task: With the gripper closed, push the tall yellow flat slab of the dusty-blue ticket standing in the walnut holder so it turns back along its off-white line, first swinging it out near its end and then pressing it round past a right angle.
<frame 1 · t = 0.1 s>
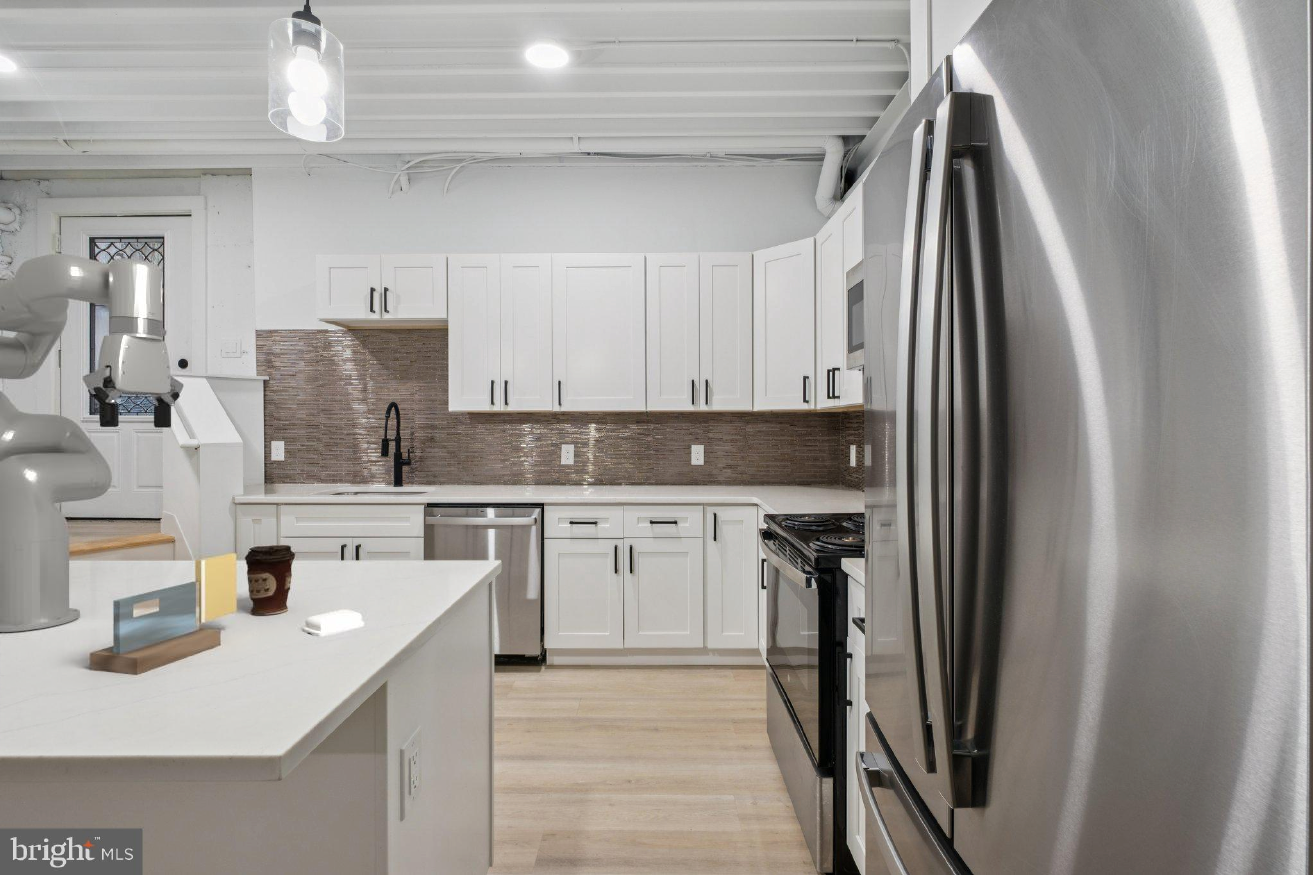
hand: (136, 427, 117), 37 cm above the counter, tool pointing down, fingers open, 9 cm apart
yellow flat slab: (216, 586, 115), point 9 cm above the counter, hinge at 0.0°
soap: (334, 631, 120), on the counter
coffee cup: (269, 613, 131), on the counter
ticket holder: (158, 656, 105), on the counter
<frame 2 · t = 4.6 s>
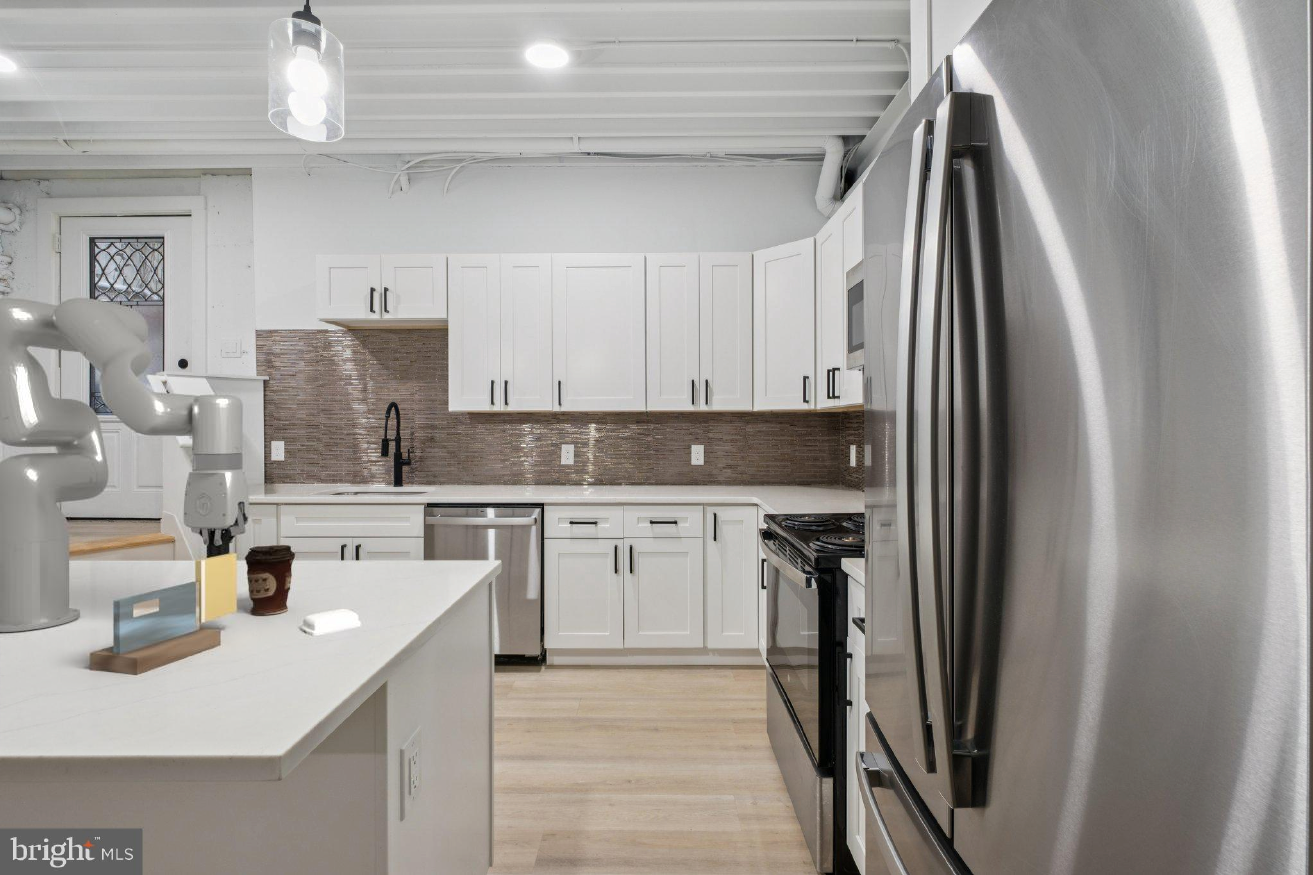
hand: (218, 566, 118), 12 cm above the counter, tool pointing down, fingers closed
yellow flat slab: (216, 586, 115), point 9 cm above the counter, hinge at 0.3°, touching gripper
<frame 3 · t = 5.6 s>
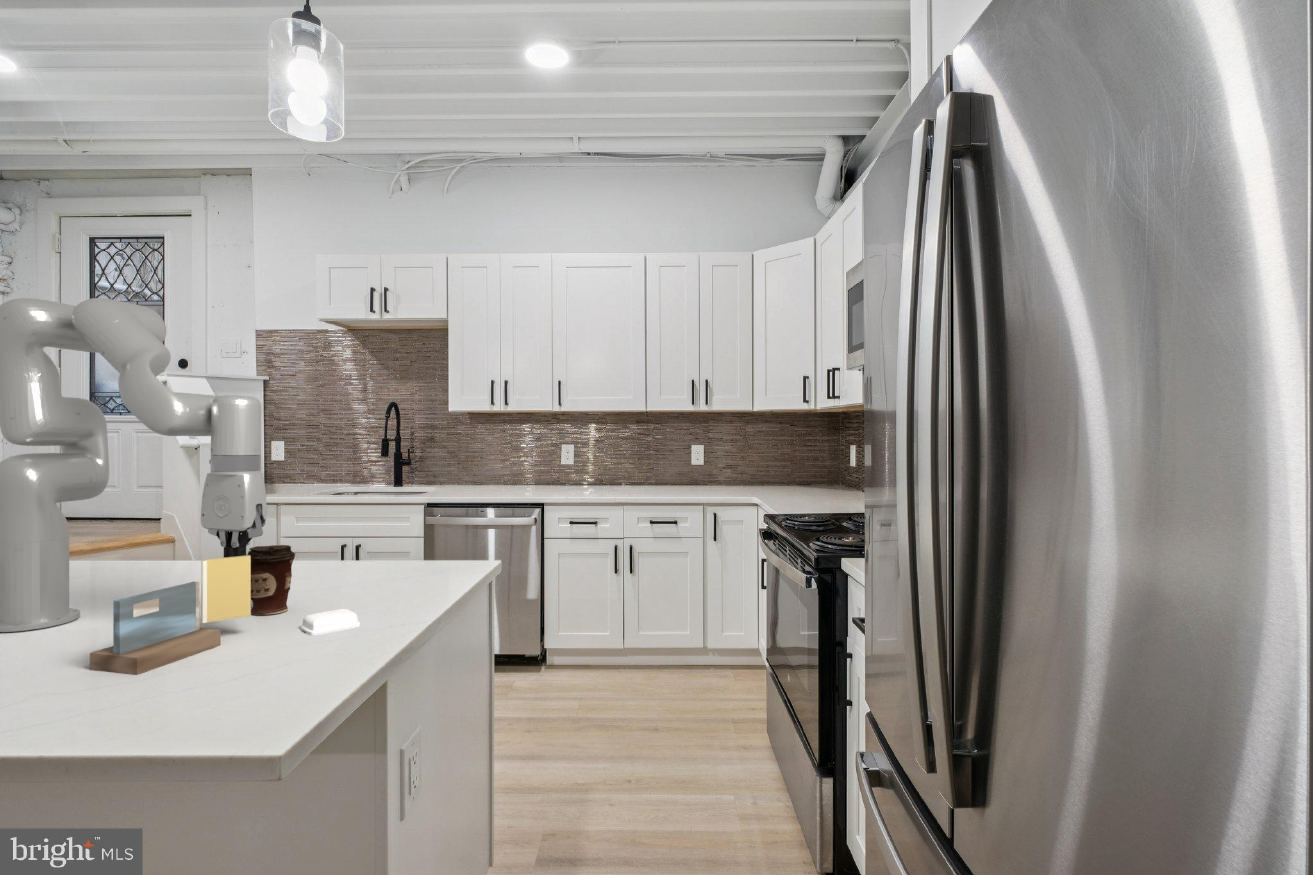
hand: (234, 568, 117), 12 cm above the counter, tool pointing down, fingers closed
yellow flat slab: (226, 588, 114), point 9 cm above the counter, hinge at 37.7°, touching gripper
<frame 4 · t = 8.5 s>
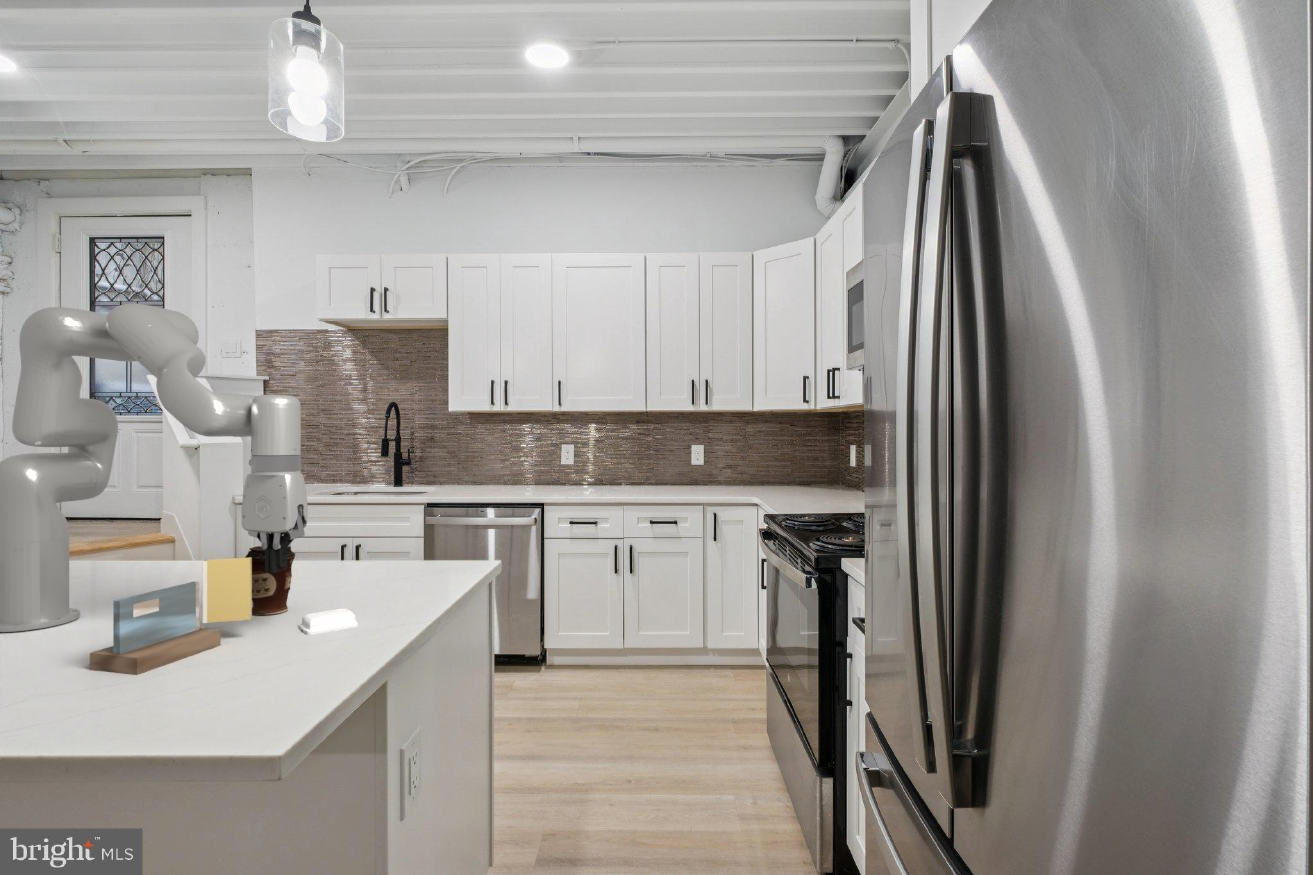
hand: (276, 570, 115), 12 cm above the counter, tool pointing down, fingers closed
yellow flat slab: (227, 589, 113), point 9 cm above the counter, hinge at 58.0°
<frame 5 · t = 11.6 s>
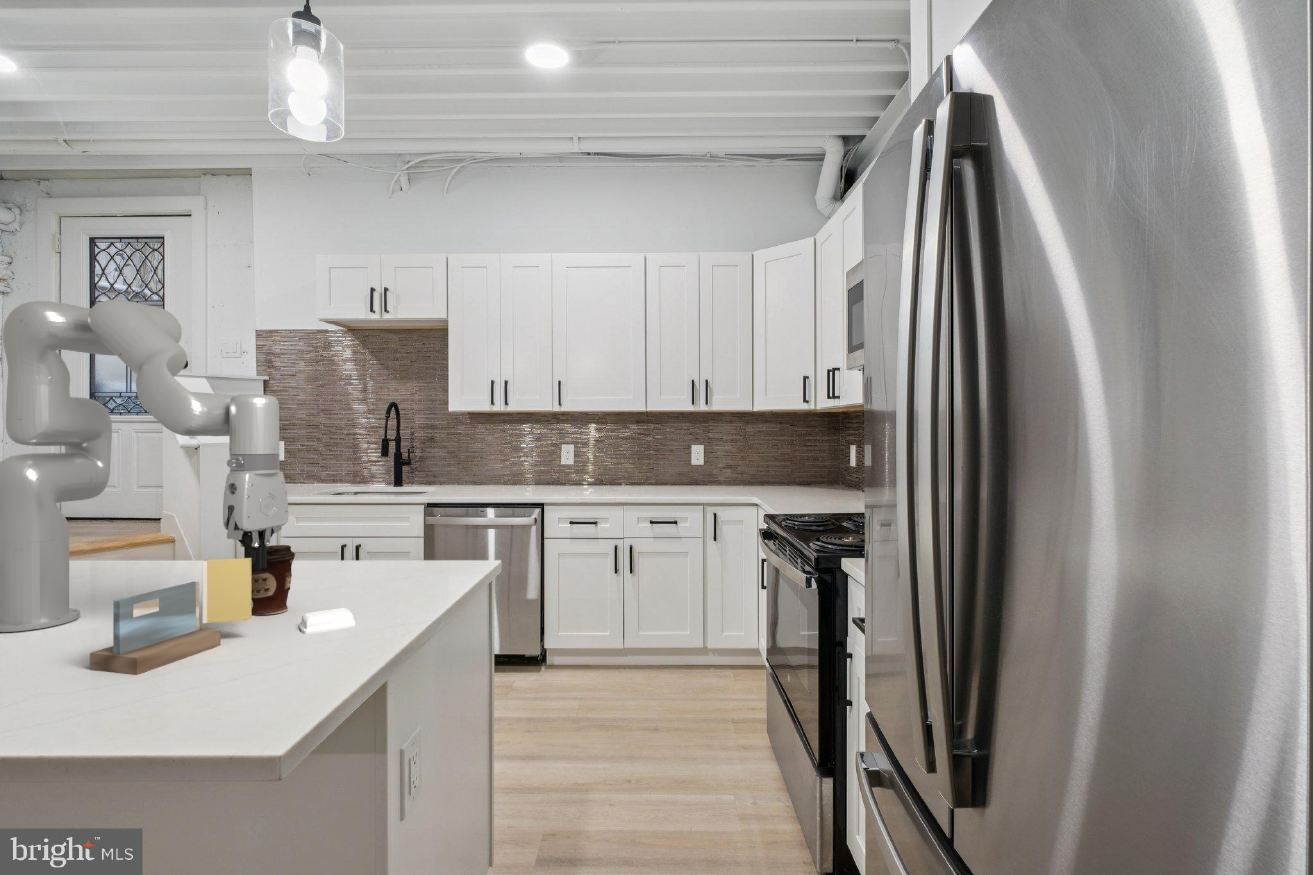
hand: (255, 568, 116), 12 cm above the counter, tool pointing down, fingers closed
yellow flat slab: (227, 590, 112), point 9 cm above the counter, hinge at 61.8°, touching gripper
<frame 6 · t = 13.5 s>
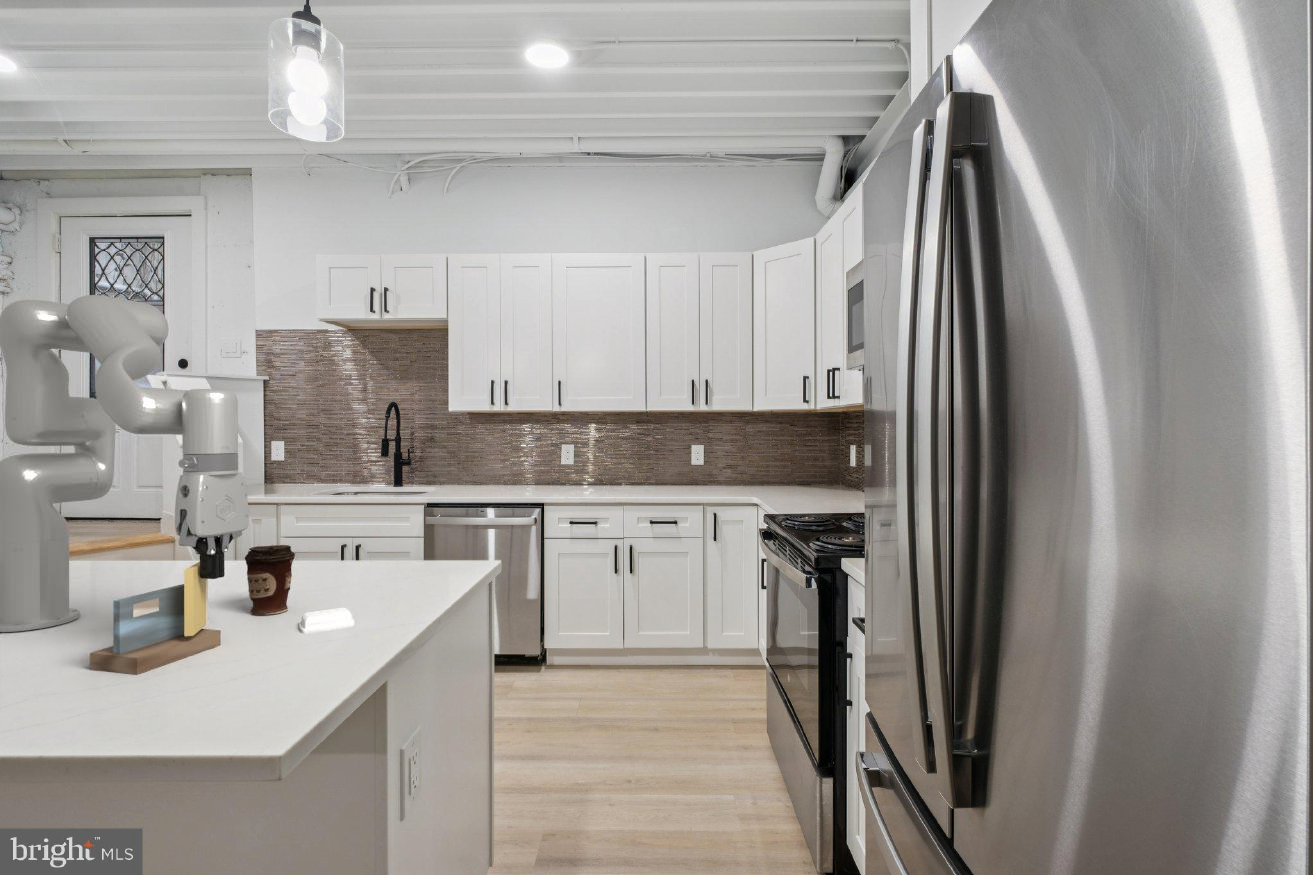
hand: (212, 577, 107), 12 cm above the counter, tool pointing down, fingers closed
yellow flat slab: (196, 597, 107), point 9 cm above the counter, hinge at 147.8°, touching gripper
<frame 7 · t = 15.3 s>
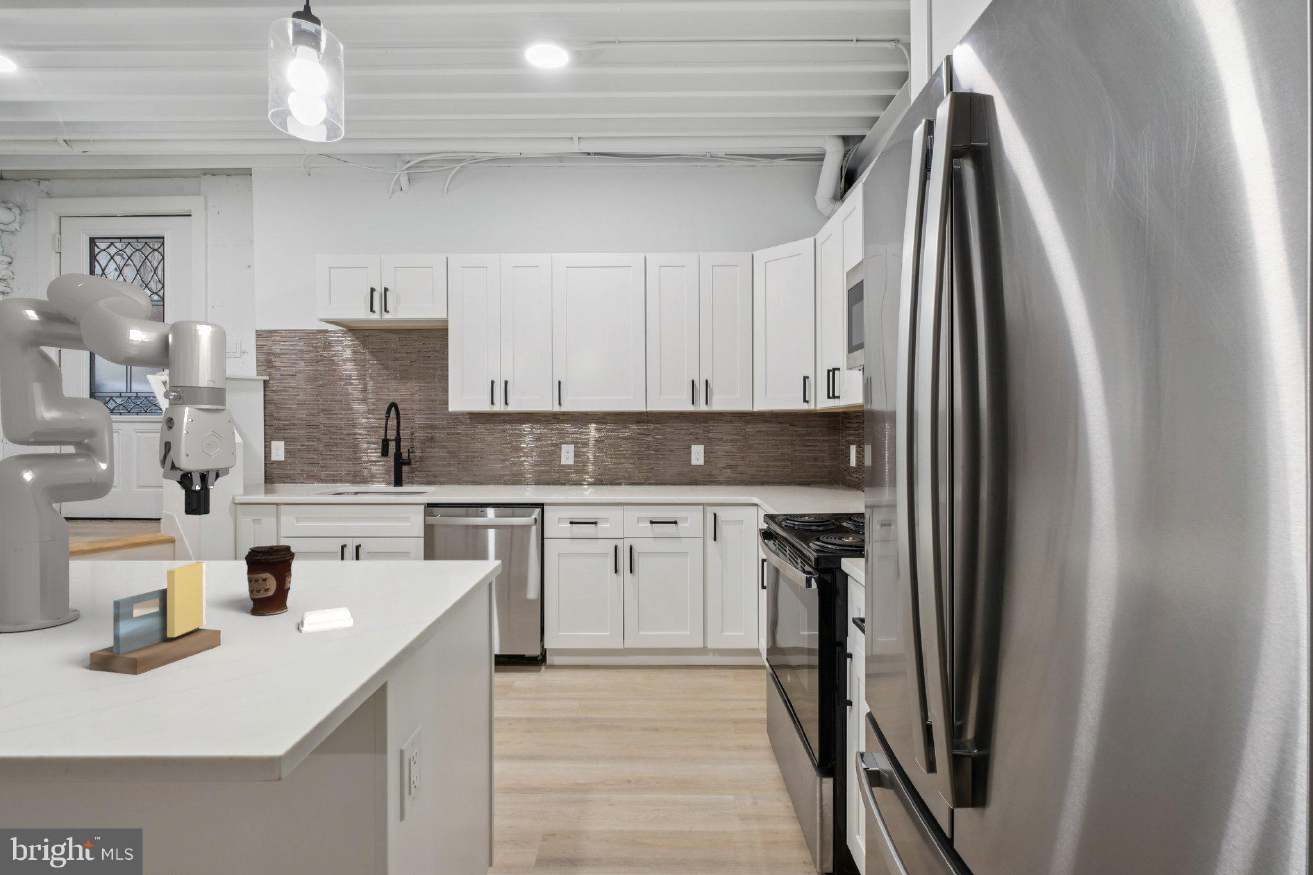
hand: (197, 514, 105), 23 cm above the counter, tool pointing down, fingers closed
yellow flat slab: (186, 598, 107), point 9 cm above the counter, hinge at 166.8°
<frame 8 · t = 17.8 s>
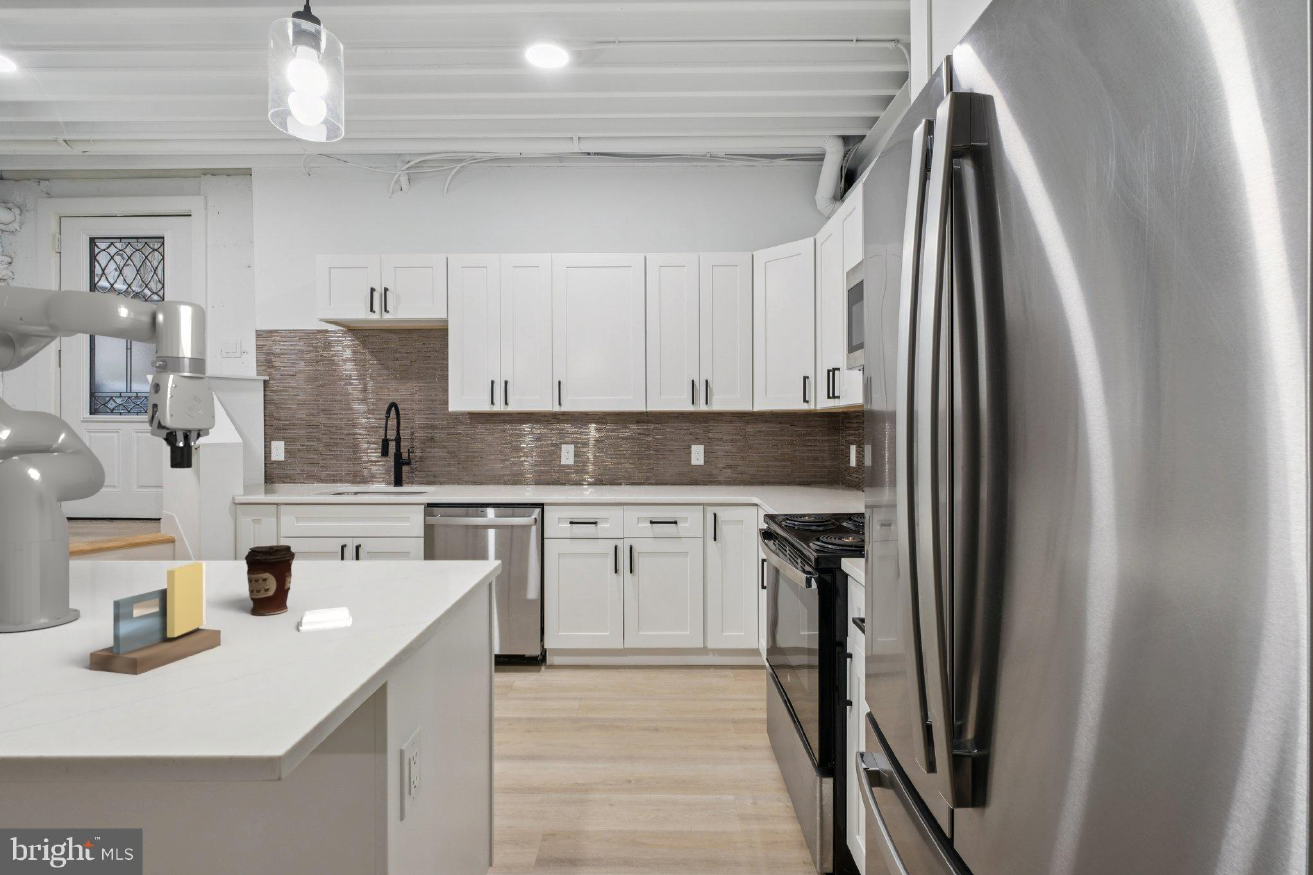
hand: (181, 467, 122), 29 cm above the counter, tool pointing down, fingers closed
at the end: yellow flat slab at +167° (first picture: +0°); yellow flat slab touching nothing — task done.
